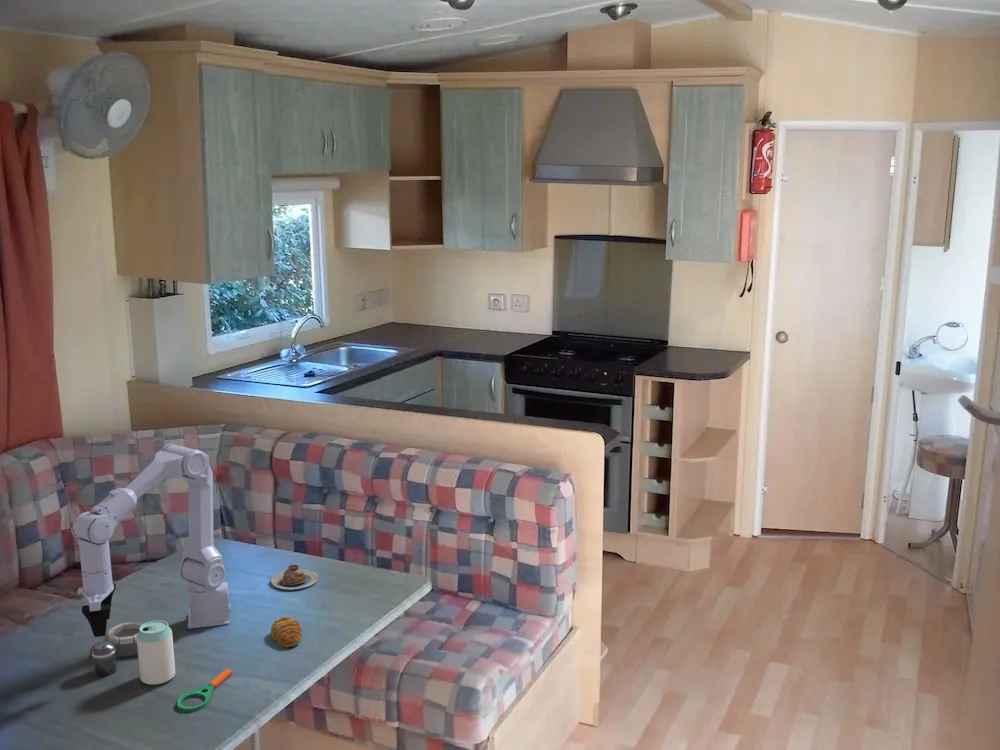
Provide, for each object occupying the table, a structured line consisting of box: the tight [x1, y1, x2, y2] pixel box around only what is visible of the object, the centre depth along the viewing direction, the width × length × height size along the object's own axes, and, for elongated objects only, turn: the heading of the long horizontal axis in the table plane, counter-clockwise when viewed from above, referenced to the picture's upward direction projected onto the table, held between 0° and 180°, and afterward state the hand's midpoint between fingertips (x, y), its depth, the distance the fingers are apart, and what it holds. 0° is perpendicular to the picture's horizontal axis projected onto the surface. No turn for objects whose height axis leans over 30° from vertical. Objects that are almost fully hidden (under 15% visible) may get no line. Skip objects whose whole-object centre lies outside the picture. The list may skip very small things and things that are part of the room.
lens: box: [91, 640, 118, 678], centre depth 207 cm, size 5×5×6 cm
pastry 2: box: [270, 564, 319, 592], centre depth 251 cm, size 12×12×5 cm
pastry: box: [270, 616, 303, 648], centre depth 222 cm, size 9×7×4 cm
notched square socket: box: [103, 621, 144, 659], centre depth 218 cm, size 10×8×4 cm
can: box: [137, 620, 176, 686], centre depth 204 cm, size 7×7×12 cm
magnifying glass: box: [176, 668, 233, 713], centre depth 200 cm, size 15×6×2 cm, turn 159°
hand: (102, 627), depth 206 cm, fingers open, 7 cm apart
